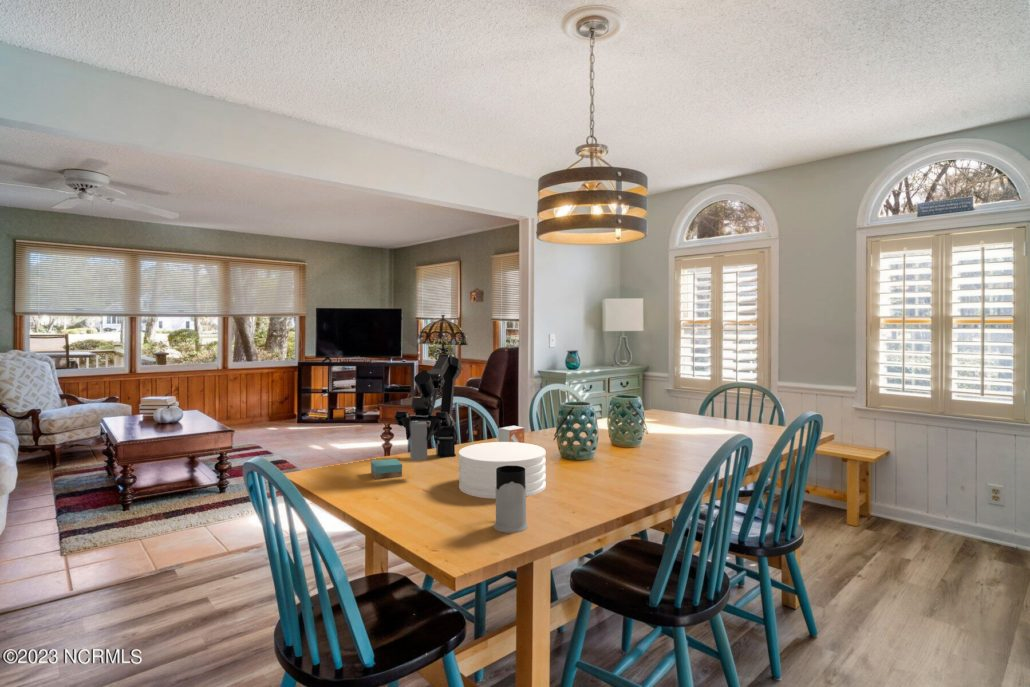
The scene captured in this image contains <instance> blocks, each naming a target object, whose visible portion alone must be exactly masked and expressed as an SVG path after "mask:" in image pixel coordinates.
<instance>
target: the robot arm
mask: <svg viewBox="0 0 1030 687" xmlns="http://www.w3.org/2000/svg"><path fill="white" fill-rule="evenodd" d="M461 370H462V361H461V360H460V359H459V358H458V357H456V356H453V355H452V354H449V353H440V354H438V356H437V360H436V361H435V363H434V365H433V367H432V368H431V369H429V370H428V369H422V370H421V372H419V373H417V374H416V375H414V378H413V380H414V384H415V385H416V388H417V392H418V393H420V396H419V397H412V398H411V408H412V409H413V410H412V411H413V413H414V414H410V413H408V410H396V412H395V414H394V416H393V417H394V419H395V421H396V423H397V425H398V426H400V427H404V428H405V437H406V440H407V441H409V440H410V422H420V421H425V422H426V423H427V422H429V423H430V425H429V428H428V429H427V438H426V439H427V442H428V441H429V440H431V438H432V437H433V441H434V442H435V441H437V443H436V444H435V454H436V455H437V456H438V457H439V458H447V457H448V458H449V457H456V456H457V454H456V452H455V451H456V450H455V448H456V447H455V446H456V444H455V443H456V442H457V441H458V440H459V434H458V430H457V427H456V422H455V420H454V418H453V415H452V414H453V408H454V407H453V405H454V395H455V394H454V393H455V385H456V384H455V382H456V380H457V379H458V378H459V377H460V373H461V372H460V371H461ZM441 389H442V394H441V402H440V411H436V409H435V406H436V402H437V400H438V393H439V392H438V391H437V390H441ZM435 411H436V412H435ZM433 412H435V415H433V414H434V413H433Z"/></svg>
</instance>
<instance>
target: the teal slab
mask: <svg viewBox="0 0 1030 687" xmlns="http://www.w3.org/2000/svg"><path fill="white" fill-rule="evenodd" d="M371 469H372V470H373V471H374V473H375V474H380V473H390V472H399V471H402V472H403V464H402V462H400V461H399V460H398V459H397V458H390V459H389V458H388V459H379V460H371V461H370V470H371Z"/></svg>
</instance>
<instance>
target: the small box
mask: <svg viewBox="0 0 1030 687" xmlns="http://www.w3.org/2000/svg"><path fill="white" fill-rule="evenodd" d="M497 433H498V437H497V438H498V441H497V442H519V443H525V427H523V426H518V425H509V426H504V427H499V428H498V432H497Z"/></svg>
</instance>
